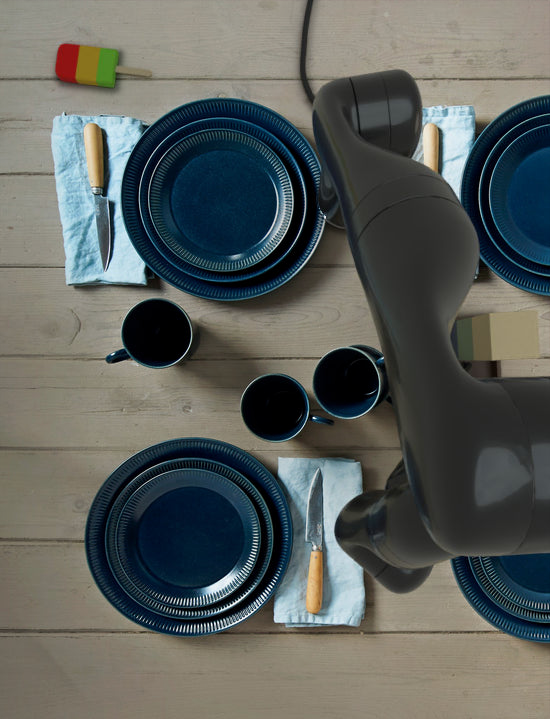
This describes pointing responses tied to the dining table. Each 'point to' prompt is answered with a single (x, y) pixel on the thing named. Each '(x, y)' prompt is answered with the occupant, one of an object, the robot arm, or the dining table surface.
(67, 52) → the popsicle
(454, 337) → the block tower
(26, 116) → the dining table surface
